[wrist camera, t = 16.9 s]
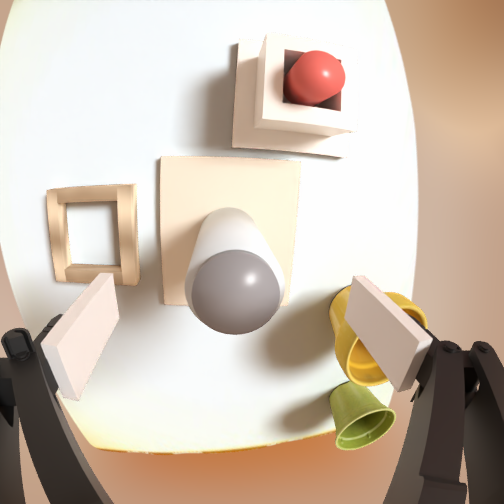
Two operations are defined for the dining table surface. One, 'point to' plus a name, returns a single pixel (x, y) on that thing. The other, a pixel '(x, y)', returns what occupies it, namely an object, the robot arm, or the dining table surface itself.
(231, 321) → the filter cartridge
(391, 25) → the dining table surface
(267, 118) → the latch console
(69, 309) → the robot arm
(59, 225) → the socket
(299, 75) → the latch button
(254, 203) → the sand mat
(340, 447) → the plant pot
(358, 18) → the dining table surface
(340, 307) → the plant pot
